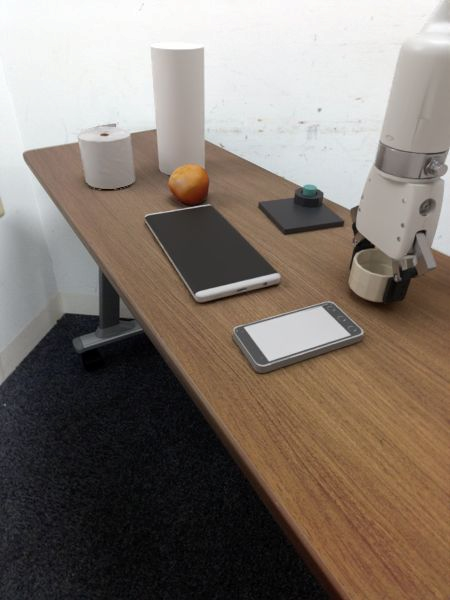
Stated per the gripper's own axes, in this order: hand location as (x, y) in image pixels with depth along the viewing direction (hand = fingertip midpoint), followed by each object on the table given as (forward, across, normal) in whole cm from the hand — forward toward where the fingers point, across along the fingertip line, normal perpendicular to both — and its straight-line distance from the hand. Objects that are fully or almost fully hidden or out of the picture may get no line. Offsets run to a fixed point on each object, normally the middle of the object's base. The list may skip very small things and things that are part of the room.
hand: (375, 283), depth 60 cm
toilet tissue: (+2, +54, +30) cm, 62 cm away
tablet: (+2, +19, +19) cm, 27 cm away
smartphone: (+2, -5, +14) cm, 15 cm away
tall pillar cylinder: (+2, +57, +14) cm, 59 cm away
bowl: (+1, 0, 0) cm, 1 cm away
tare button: (-1, +29, -5) cm, 30 cm away
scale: (+2, +26, -2) cm, 26 cm away
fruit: (+2, +39, +16) cm, 42 cm away
